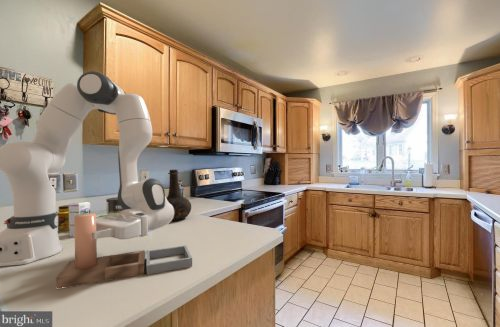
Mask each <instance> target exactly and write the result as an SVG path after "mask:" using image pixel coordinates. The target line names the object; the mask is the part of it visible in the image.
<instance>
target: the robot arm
mask: <svg viewBox="0 0 500 327" xmlns="http://www.w3.org/2000/svg"><path fill="white" fill-rule="evenodd" d="M93 110H97V111H98V112H99V113H105V114H110V115H114V116H116V120H117V125H118V134H119V138H118V139H119V144H118V152H117V153H118V155H117V158H118V162H117V163H118V172H119V173H118V175H119V188H118V192H117V197H118V202H119V204H120V206H121V207H122V208H123V209H125V210H123V211H121V212H120V214H119V215H118V216H117V217H112V216H105V217H99V216H97V217H98V218H96V231H95V232H92V238H94V239H97V240H99V239H103V238H114V239H117V240H129V239H132V238H133V239H134V238H138V237H139V238H140V237H141V238H143V237H146V236H148V233H149V232H148V231H154V230H157V229H160V228H164V227H165V226H167V225H169V224H170V223H171V222H173V221H172V219H173V217H174V208H173V206H172V205H171V204H170V203H169V202H168V201H167V199H166V198H167V197H166V192H165V187H164V184H162V183H161V182H160V181H159V180H158V179H156V178H148V179H143V180H140V181H139V177H138V166H137V165H138V158H139V156H140V155H141V153H142V152H143V151H144V150H145V148H147V147H148V145H149V144H150V143H151V141H152V139H153V127H152V126H153V125H152V122H151V117H150V112H149V110H148V106H147V105H146V102H145V100H144V98H143V97H142V96H140V95H139V94H137V93H130V92H129V93H126V92H125V91H124V90H123V89H122V88H121V87H120V85H118V84H117V83H116V82H114V81H113V80H112V79H110V78H109V77H108V76H106V75H105V74H104V73H101V72H98V71H93V70H92V71H87V72H83V74H81V75H80V76H79V78H78V79H77V83H73V82H70V83H67V84H66V85H64V86H63V87H62V88H61V89H60V90H58V91H57V93H56V94H55V95H54V96H53V97H52V99H51V100H50V101H49V103H48V104H47V105H46V107H45V108H44V110H43V111H42V113H41V114H40V115H39V117H38V118H37V120H36V121H35V122H36V123H35V125H36V133H35V136H34V139H32V142H29V141H15V142H10V143H5V144H3V145H1V146H0V170H1V171H3V173H4V174H5V176H6V178H7V181H8V182H9V185H10V188H11V191H12V192H11V193H12V197H13V198H12V199H13V200H12V202H13V203H12V204H13V215H12V216H10V217H9V218H7V219H6V220H3V222H4V223H3V225H6V228H5V229H3V230H2V231H1V232H0V267H7V266H18V265H19V266H20V265H26V264H30V263H33V262H35V261H38V260H41V259H45V258H48V257H52V256H54V255H56V254H59V253H60V252H62V251H63V247H62V245H61V242H60V237H59V233H58V211H57V196H56V195H57V191H56V189H55V188H54V186H52V183H51V180H50V178H49V177H50V176H49V174H52V173H54V172H57V171H58V170H61V169H62V168H63V167H64V166H65V164H66V154H67V151H68V149H69V146H70V144H71V141H72V139H73V137H74V136H75V134H76V132H77V131H78V130H79V128H80V126H81V125H82V124H83V122H84V120H85V119H86V118H87V116H88V115H89V113H91V111H93ZM74 233H75V229H74Z"/></svg>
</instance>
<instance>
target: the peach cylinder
mask: <svg viewBox="0 0 500 327" xmlns="http://www.w3.org/2000/svg"><path fill="white" fill-rule="evenodd" d="M96 217H97V213H95V212H94V213H92V212H90V213H87V214H80V215H76V216H74V226H75V237H74V261H75V268H76V269H86V268H90V267H93V266H95V265H96V264H97V257H98V253H97V251H98V248H97V245H98V244H97V240H98V239H94V238H92V232H95V231H96Z"/></svg>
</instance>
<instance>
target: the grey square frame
mask: <svg viewBox="0 0 500 327" xmlns="http://www.w3.org/2000/svg"><path fill="white" fill-rule="evenodd" d="M177 255H184V256H185V258H184V257H183V258H178V259H173V260H166V261H161V262H154V263H150V262H151V260H153V259H157V258H158V259H159V258H163V257H164V258H165V257H170V256H171V257H172V256H177ZM152 258H153V259H152ZM191 267H193V257H192V255H191V253H190V251H189V248H188V246H187V245H185V244H184V245H179V246H172V247H165V248H159V249H158V248H157V249H151V250H146V275H151V274H152V275H153V274H159V273H165V272H169V271H173V270H175V271H176V270H180V269H186V268H187V269H188V268H191Z"/></svg>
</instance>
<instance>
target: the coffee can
mask: <svg viewBox="0 0 500 327" xmlns="http://www.w3.org/2000/svg"><path fill="white" fill-rule="evenodd" d="M105 200H106V215H107V216H112V217H117V216H118V215H119V214H120V212H121V211H123V210H125V209H123V208H122V207H121V206H120V204H119V202H118V196H117V197H116V196H115V197H110V198H106V199H105Z"/></svg>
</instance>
